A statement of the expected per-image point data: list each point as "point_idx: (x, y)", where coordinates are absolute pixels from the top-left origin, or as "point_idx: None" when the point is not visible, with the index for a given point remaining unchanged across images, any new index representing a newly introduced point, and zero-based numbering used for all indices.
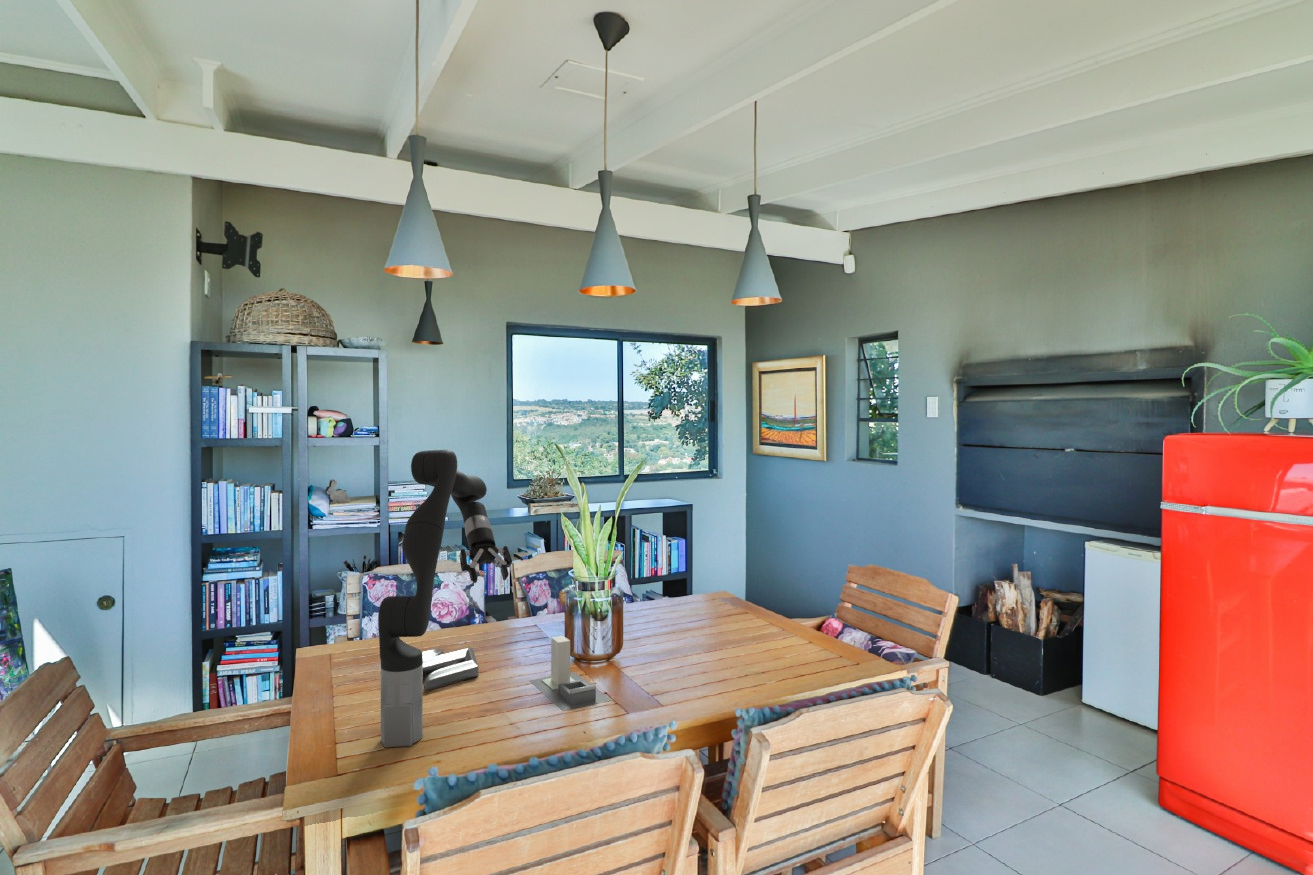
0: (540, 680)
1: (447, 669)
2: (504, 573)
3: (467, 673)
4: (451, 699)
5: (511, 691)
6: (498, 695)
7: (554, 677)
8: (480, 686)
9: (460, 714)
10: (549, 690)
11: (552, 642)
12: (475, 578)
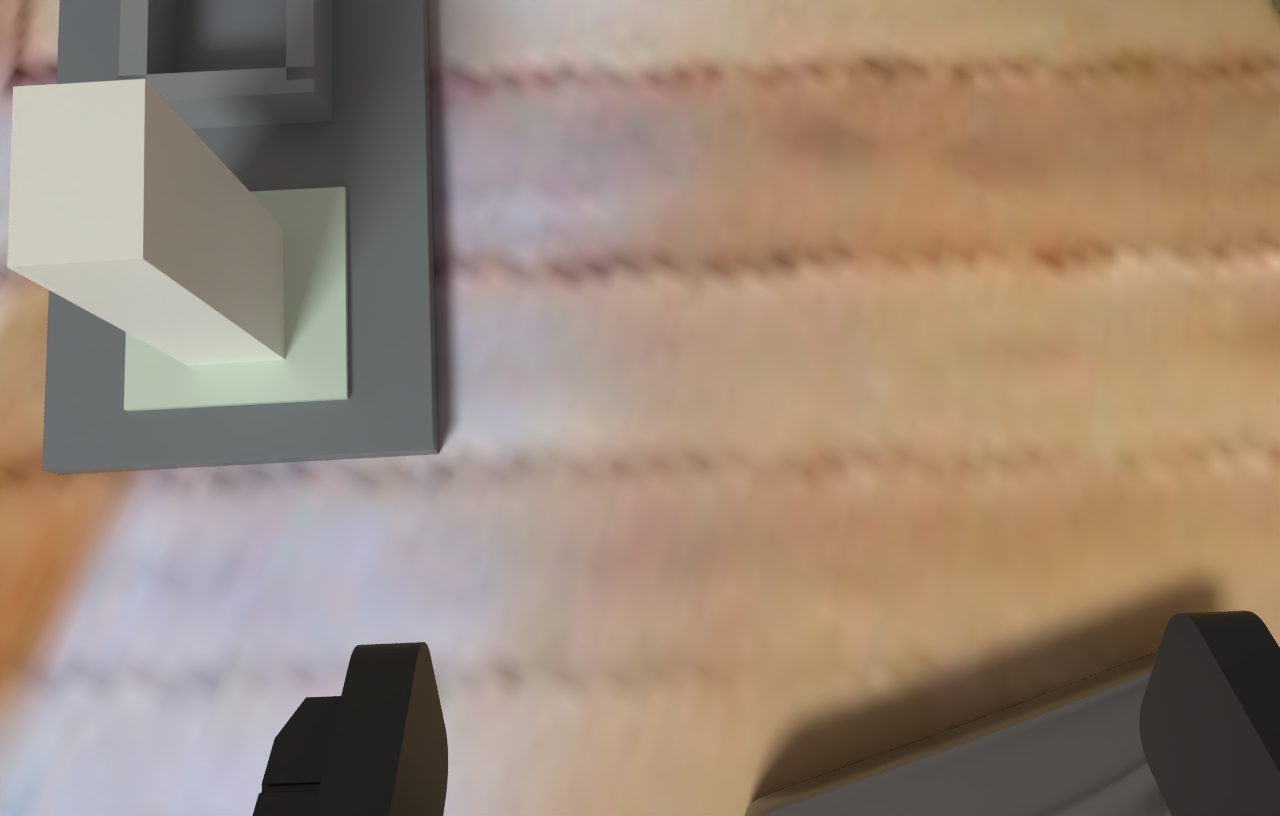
0: (353, 410)
1: (1036, 787)
2: (405, 697)
3: (852, 768)
4: (1020, 424)
5: (594, 383)
6: (699, 351)
7: (270, 285)
8: (777, 582)
9: (1004, 150)
10: (367, 196)
11: (161, 241)
12: (1241, 613)
